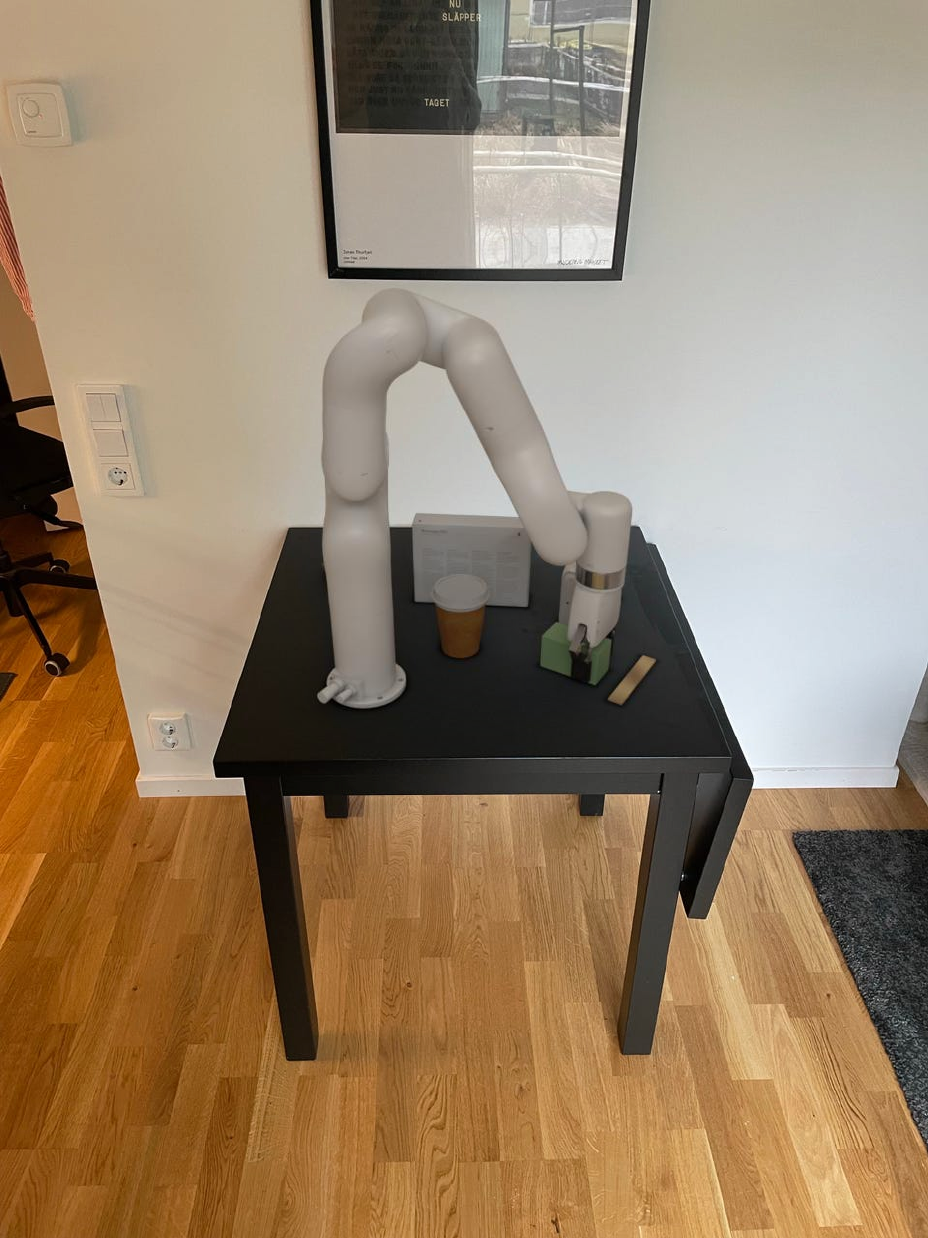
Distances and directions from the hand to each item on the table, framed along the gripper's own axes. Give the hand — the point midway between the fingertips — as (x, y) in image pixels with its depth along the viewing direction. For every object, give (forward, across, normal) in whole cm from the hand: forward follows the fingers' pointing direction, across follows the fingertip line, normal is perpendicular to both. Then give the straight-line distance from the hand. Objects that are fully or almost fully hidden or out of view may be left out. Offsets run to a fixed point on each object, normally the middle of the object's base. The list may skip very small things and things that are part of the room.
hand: (591, 666), depth 146 cm
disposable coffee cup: (+2, +5, -22) cm, 23 cm away
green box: (+1, 0, -3) cm, 3 cm away
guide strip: (+1, -2, +6) cm, 7 cm away
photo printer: (+2, -15, -10) cm, 18 cm away
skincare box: (+2, -10, -29) cm, 31 cm away
